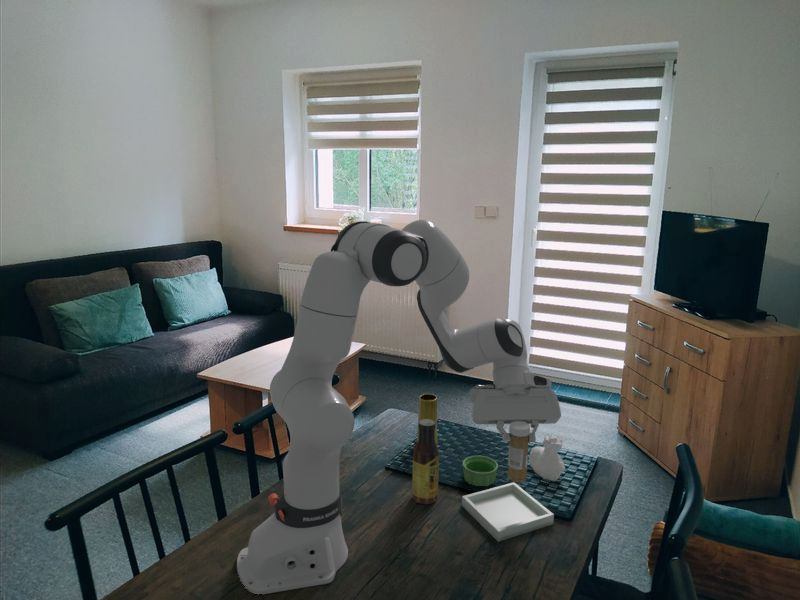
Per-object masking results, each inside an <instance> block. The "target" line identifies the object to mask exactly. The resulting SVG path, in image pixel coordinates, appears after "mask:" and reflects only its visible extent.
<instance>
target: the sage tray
mask: <svg viewBox="0 0 800 600" xmlns="http://www.w3.org/2000/svg"><path fill="white" fill-rule="evenodd" d="M461 506H462V507H463V508H464V509H465V510H466V511H467V512H468V513H469V515H471V516H472V517H473V518H474V519H475V520H476V521H477V522H478V523H479V524H480V525H481V526H482V528H484V530H486V531H487V532H488V533H489V534H490V535H491V536H492V537H493V538H494V539H495V540H496V541H497V542H502V541H505V540H508V539H511V538H514V537H517V536H520V535H524V534H527V533H530V532H533V531H537V530H539V529H542V528H545V527H549V526H552V525H554V518H555V514H554V513H553V512H551V511H550V510H549V509H548V508H547V507H545V506H544V505H543V504H542V503H540V502H539V501H538V500H537V499H535V497H534V496H532V495H530V493H528V492H526V490H524V489H523V488H522V487H521V486H520V485H518V484H517V482H514V481H512V482H509V483H507V484H503V485H499V486H495V487H492V488H489V489H488V488H487V489H484V490H481V491H477V492H473V493H470V494H465V495H462V496H461Z"/></svg>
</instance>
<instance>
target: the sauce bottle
mask: <svg viewBox="0 0 800 600" xmlns="http://www.w3.org/2000/svg"><path fill="white" fill-rule="evenodd" d="M418 427H419V437H418V438H419V440H418V442H417V441H416V443H415V444H414V447H413V457H412V481H411V482H412V484H411V485H412V487H411V493H412V499H413V501H414V502H416V503H418V504H421V505H429V504H433V503H435V502H436V501H437V498H438V493H439V469H440V467H439V466H440V452H439V449H438V446H437V445H438V444H437V445H436V442H435V437H434V433H435V422H434V421H433V420H430V419H423V420H420V421H419V423H418V422H417V428H418Z"/></svg>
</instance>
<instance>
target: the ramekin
mask: <svg viewBox="0 0 800 600" xmlns="http://www.w3.org/2000/svg"><path fill="white" fill-rule="evenodd" d="M462 468H463V478H464V481H465V482H466V483H467V482H468V483H467V484H469V485H471V484H472V485H471V486H473V485H475V486H474V487H477V486H486V487H489V485H490V486H491V484H492V485H493V484H494V483H495V481H496V476H497V471H498V468H499V465H498V462H497V461H496V460H494V459H493V458H491V457H489V456H485V455H471V456H467V457H466V458H465V459H463V461H462Z"/></svg>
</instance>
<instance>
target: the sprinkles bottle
mask: <svg viewBox="0 0 800 600" xmlns="http://www.w3.org/2000/svg"><path fill="white" fill-rule="evenodd" d="M508 431H509V432H508V433H510V437H511V441H510V442H508V457H507V458H508V459H507V473H506V477H507V478H508V479H509V481H511V482H514V483H522V482H525V481H526V480H527V478H528V475H527V472H528V463H529V462H528V461H529V442H528V440H529V434H530V433H531V426H530V424H528V423H526V422H523V421H513V422H511V423H510V424H509V430H508Z"/></svg>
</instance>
